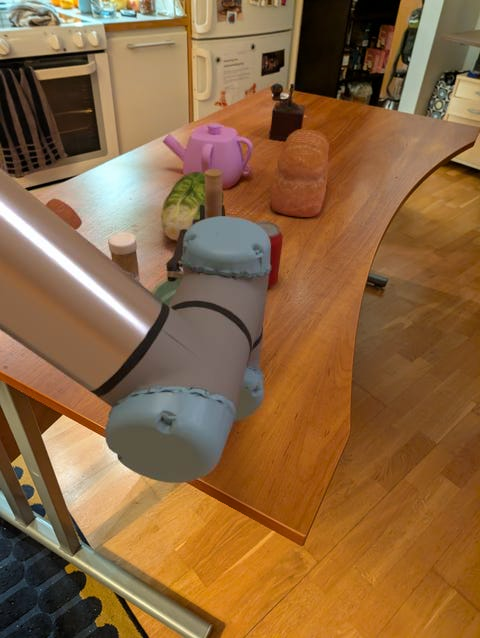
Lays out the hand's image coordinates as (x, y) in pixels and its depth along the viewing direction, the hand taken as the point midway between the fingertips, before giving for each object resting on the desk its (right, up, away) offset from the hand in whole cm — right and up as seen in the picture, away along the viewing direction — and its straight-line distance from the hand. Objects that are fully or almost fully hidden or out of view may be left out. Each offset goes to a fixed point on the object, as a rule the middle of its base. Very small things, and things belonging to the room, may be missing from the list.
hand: (211, 213), depth 73 cm
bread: (+20, +16, +50) cm, 56 cm away
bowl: (-3, -18, +8) cm, 20 cm away
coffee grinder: (+20, +45, +84) cm, 97 cm away
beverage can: (+9, -10, +19) cm, 23 cm away
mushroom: (-30, -7, +19) cm, 36 cm away
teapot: (-5, +23, +57) cm, 62 cm away
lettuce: (-7, +3, +33) cm, 34 cm away
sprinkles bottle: (-16, -14, +12) cm, 24 cm away
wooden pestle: (0, -12, +3) cm, 12 cm away
